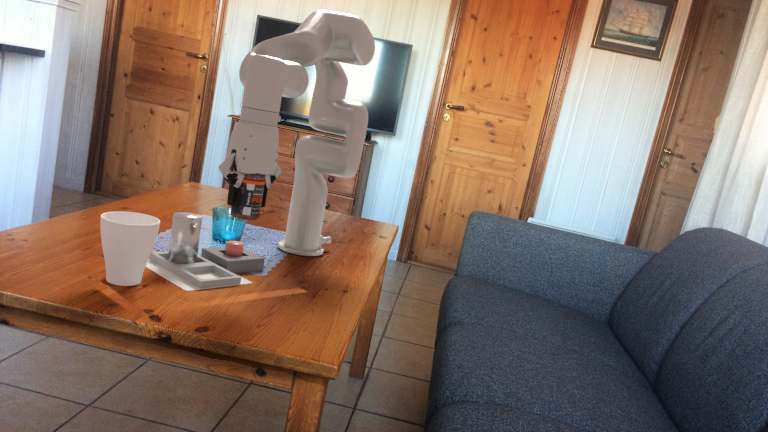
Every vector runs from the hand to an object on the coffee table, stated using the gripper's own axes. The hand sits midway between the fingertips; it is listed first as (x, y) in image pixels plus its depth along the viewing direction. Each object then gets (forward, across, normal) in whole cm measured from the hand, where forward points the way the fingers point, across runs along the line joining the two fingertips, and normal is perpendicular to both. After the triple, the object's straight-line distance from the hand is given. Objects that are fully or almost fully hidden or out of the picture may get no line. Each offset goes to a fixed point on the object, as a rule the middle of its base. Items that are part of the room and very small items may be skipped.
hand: (246, 205), depth 127 cm
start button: (+14, -7, -10) cm, 19 cm away
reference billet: (+17, +4, -13) cm, 22 cm away
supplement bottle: (+3, 0, 0) cm, 3 cm away
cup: (+18, +20, -8) cm, 28 cm away
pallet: (+18, +4, -8) cm, 20 cm away
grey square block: (+18, -7, -10) cm, 21 cm away
